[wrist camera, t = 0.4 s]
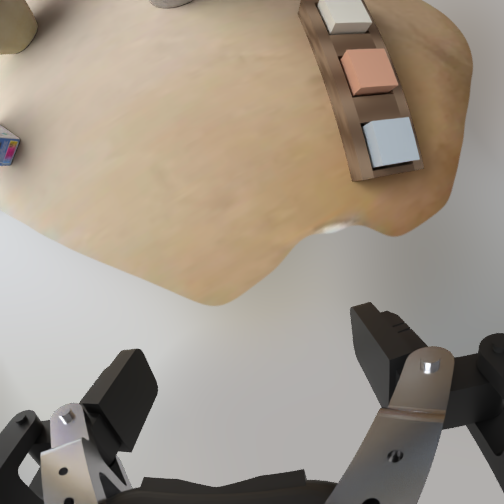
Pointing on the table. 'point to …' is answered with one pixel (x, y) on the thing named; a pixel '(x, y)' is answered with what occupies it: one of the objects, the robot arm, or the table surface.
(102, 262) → the table surface
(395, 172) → the button panel
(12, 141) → the ink cartridge box
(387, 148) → the bluegrey button
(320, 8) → the cream button
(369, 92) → the pink square block
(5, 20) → the plant pot
